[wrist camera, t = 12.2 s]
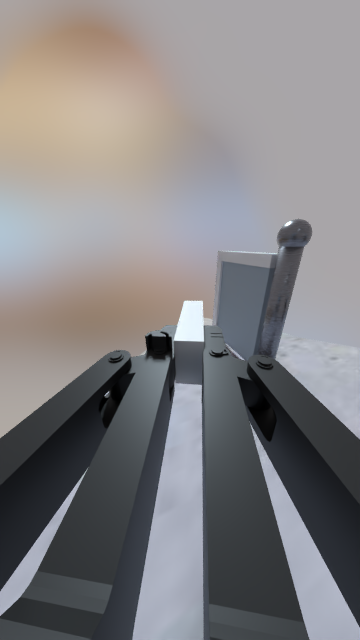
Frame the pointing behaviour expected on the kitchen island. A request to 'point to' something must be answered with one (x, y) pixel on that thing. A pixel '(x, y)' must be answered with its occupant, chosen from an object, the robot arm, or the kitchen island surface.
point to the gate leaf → (242, 298)
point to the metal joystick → (283, 283)
